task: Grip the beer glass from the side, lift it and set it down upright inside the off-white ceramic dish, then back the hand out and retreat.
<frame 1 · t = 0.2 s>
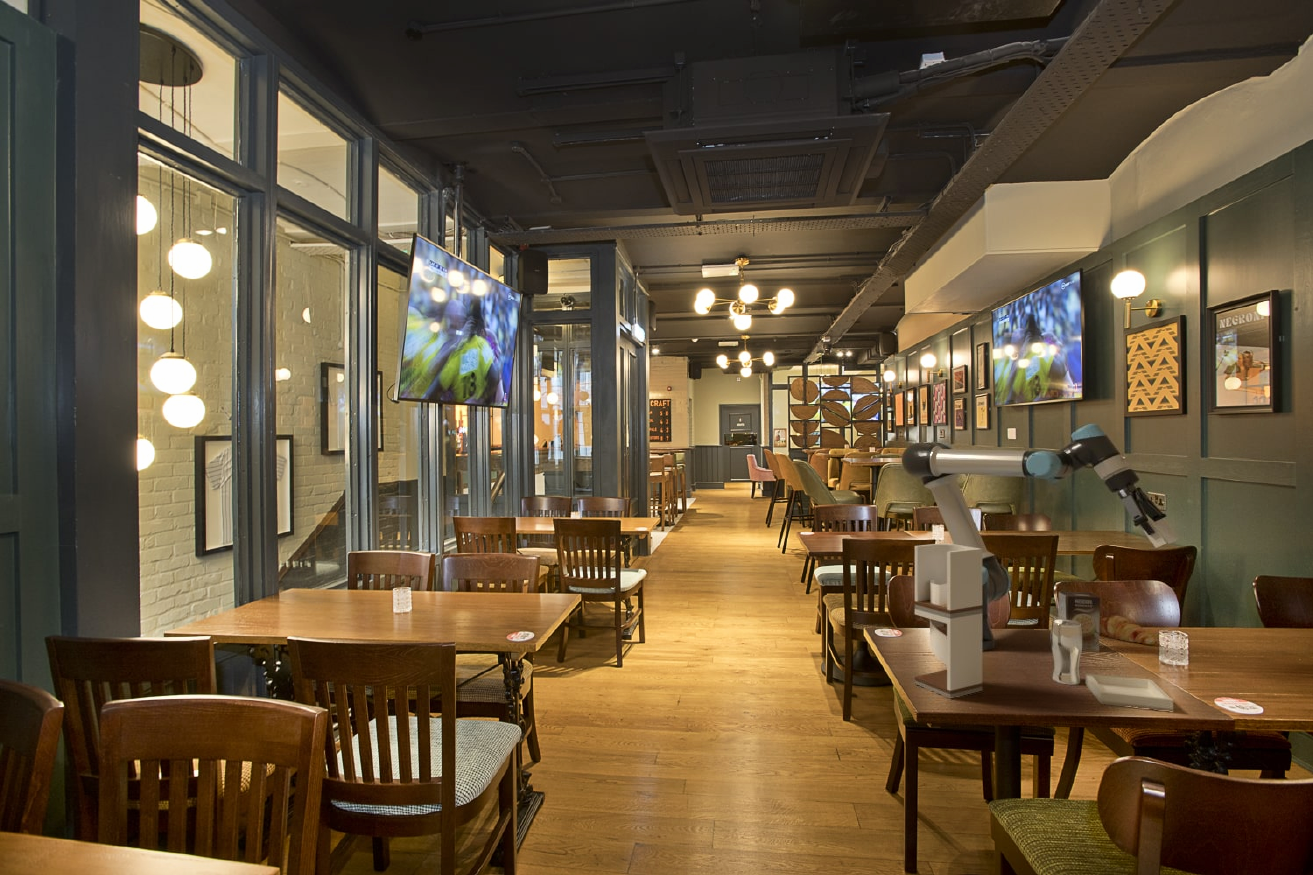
hand: (1168, 543, 177), 35 cm above the table, tool tilted 35°, fingers open, 13 cm apart
dish: (1126, 697, 161), on the table
coffee box: (1078, 648, 200), on the table
tall white shelf unit: (948, 688, 167), on the table
croissant: (1119, 638, 211), on the table
beer glass: (1066, 681, 172), on the table
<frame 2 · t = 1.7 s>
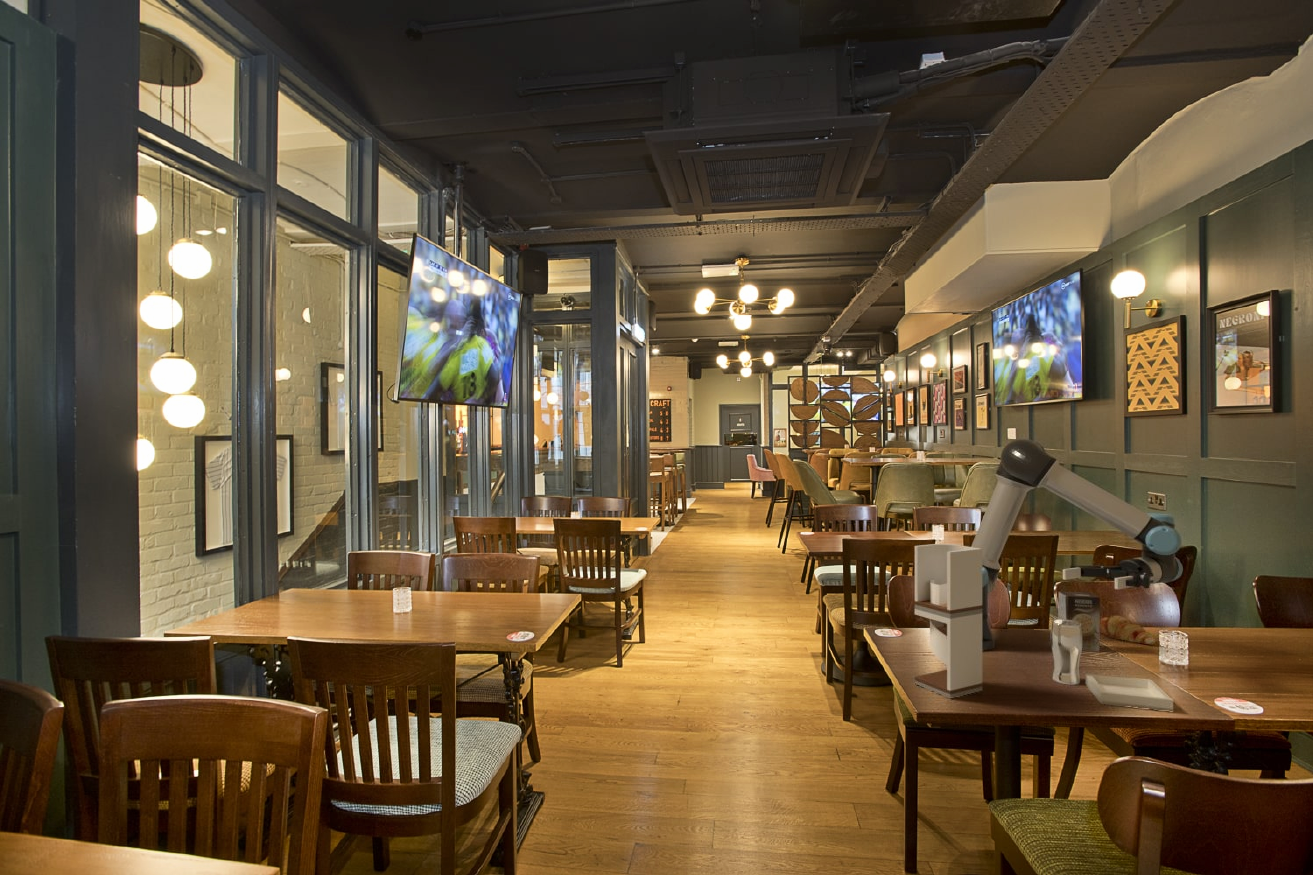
hand: (1089, 578, 176), 25 cm above the table, tool horizontal, fingers open, 13 cm apart
nothing on the table moved.
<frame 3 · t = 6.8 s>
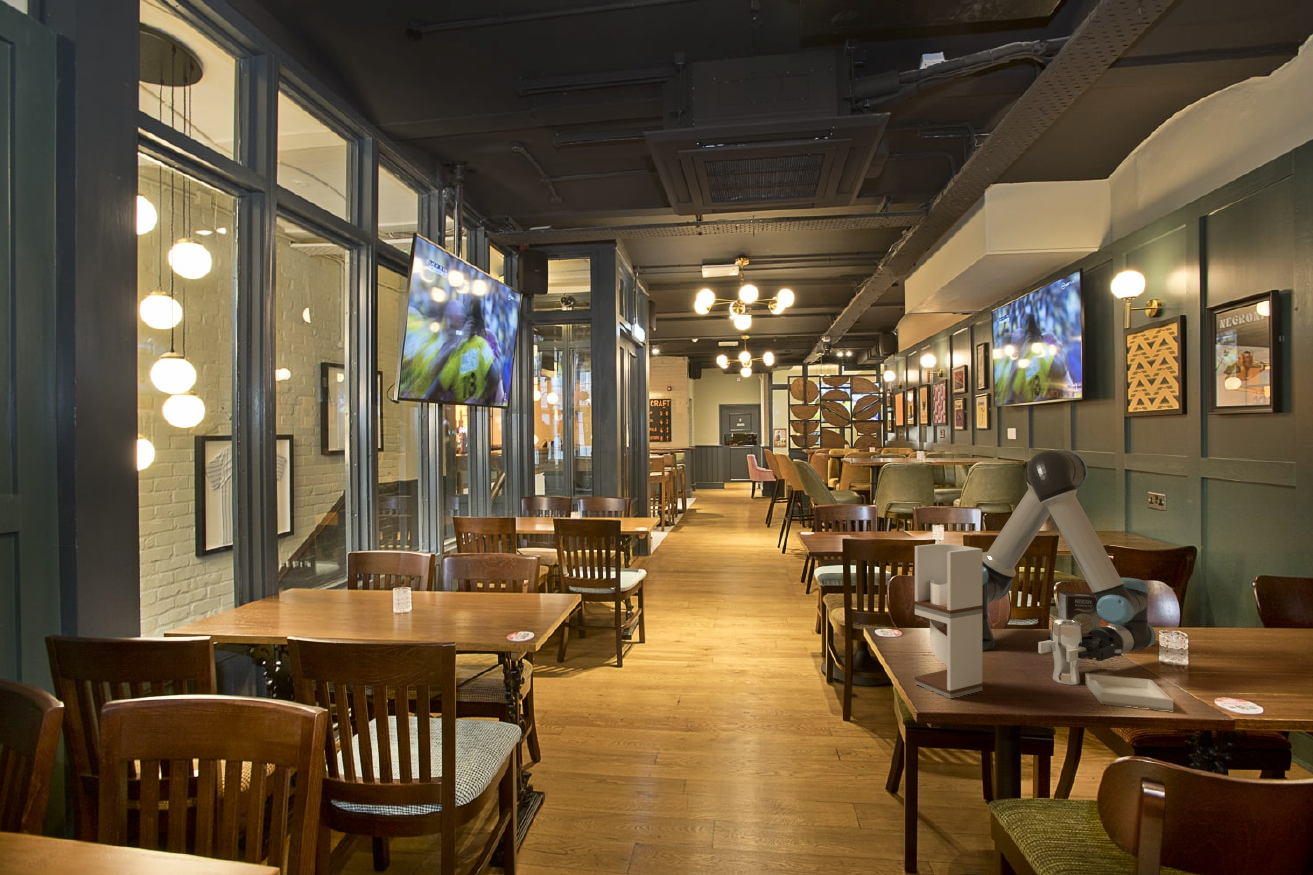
hand: (1053, 651, 170), 8 cm above the table, tool horizontal, fingers closed on beer glass, 7 cm apart
beer glass: (1066, 681, 172), on the table, touching gripper
everything else where it was.
when the fingers open (10 cm above the table, at t = 10.7 s): beer glass drops 1 cm, resting on dish.
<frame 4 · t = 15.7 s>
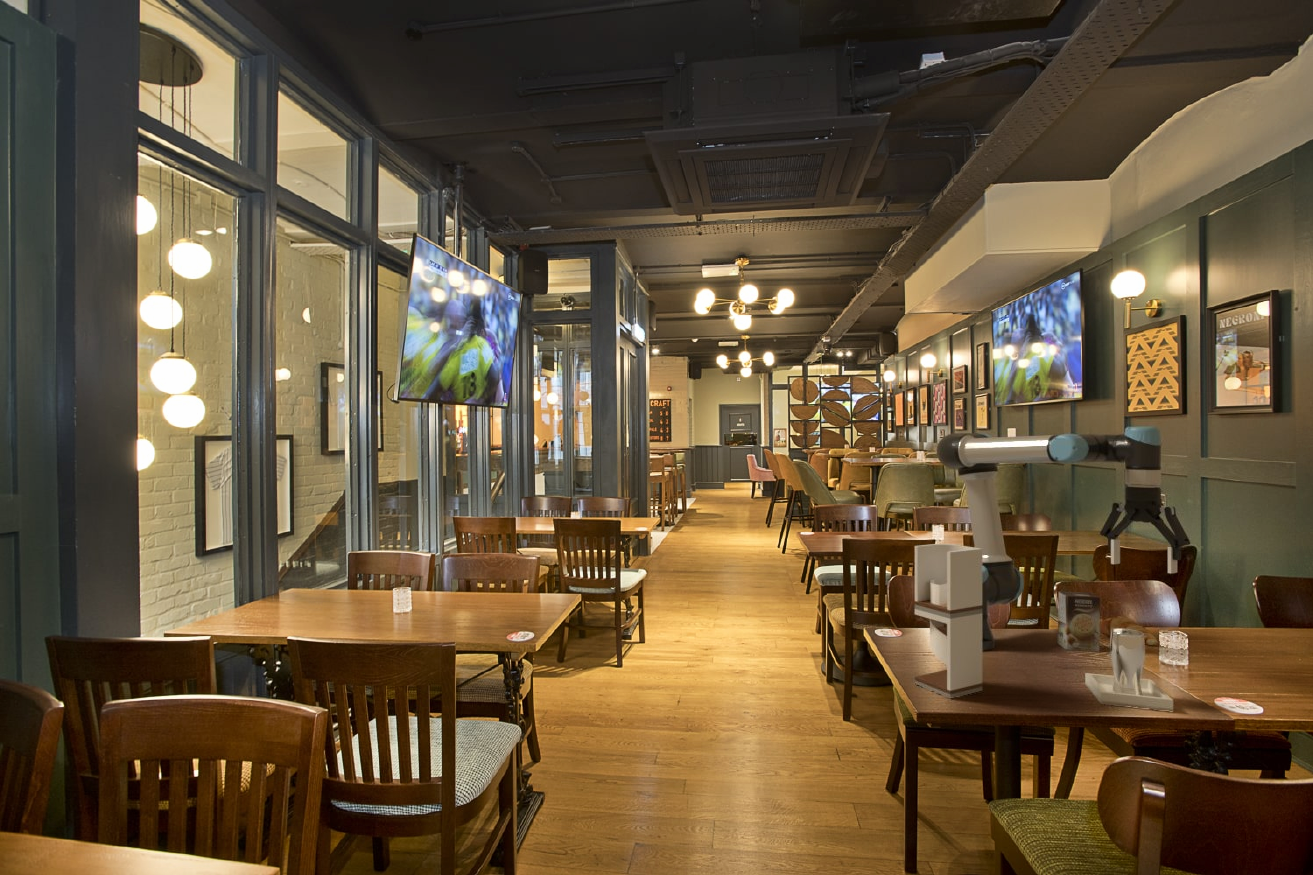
hand: (1143, 568, 173), 29 cm above the table, tool pointing down, fingers open, 13 cm apart
beer glass: (1127, 694, 161), point 1 cm above the table, touching dish
everything else where it was.
at the end: beer glass inside the target area on the dish (0.1 cm from its centre), point 0.6 cm above the dish's base; beer glass tilted 0°; the gripper is holding nothing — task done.
